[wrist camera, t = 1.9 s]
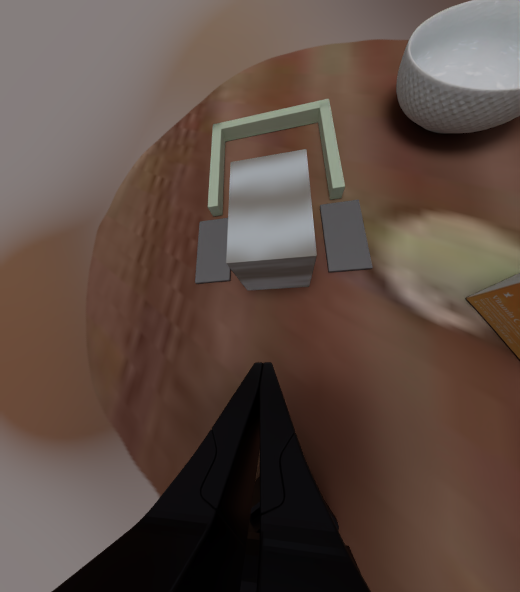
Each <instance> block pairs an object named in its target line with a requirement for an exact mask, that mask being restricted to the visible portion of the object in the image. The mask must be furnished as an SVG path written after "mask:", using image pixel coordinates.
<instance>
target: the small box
mask: <svg viewBox="0 0 520 592" xmlns="http://www.w3.org/2000/svg"><path fill="white" fill-rule="evenodd" d="M466 299H467V300H468V301H469V302H470V303H471V304H472V305H473V306H474V307H475V308H476V309H477V311H478V312H479V313H480V314H481V315H482V316H483V317H484V318H485V320H486V321H487V322H488V323H489V324H490V325H491V326H492V328H493V329H494V330H495V331H496V332H497V333H498V334H499V336H500V337H501V338H502V339H503V340H504V342H505V343H506V344H507V345H508V346H509V347H510V349H511V350H512V351H513V352H514V353H515V354H516V356H517V357H518V358H519V359H520V273H518V274H516V275H514V276H512V277H510V278H508V279H506V280H503V281H501V282H499V283H497V284H495V285H493V286H490V287H488V288H486V289H484V290H482V291H479V292H477V293H475V294H473V295H471V296H469V297H467V298H466Z"/></svg>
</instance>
